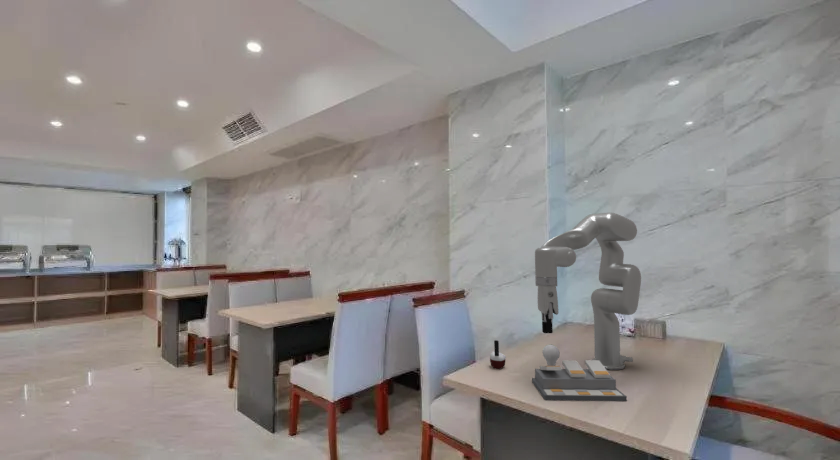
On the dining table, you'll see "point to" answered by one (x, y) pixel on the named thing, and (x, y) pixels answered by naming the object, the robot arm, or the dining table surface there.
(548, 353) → the lightbulb
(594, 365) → the switch
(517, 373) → the dining table surface
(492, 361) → the cocoa
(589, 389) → the switch unit
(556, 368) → the switch
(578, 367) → the switch
